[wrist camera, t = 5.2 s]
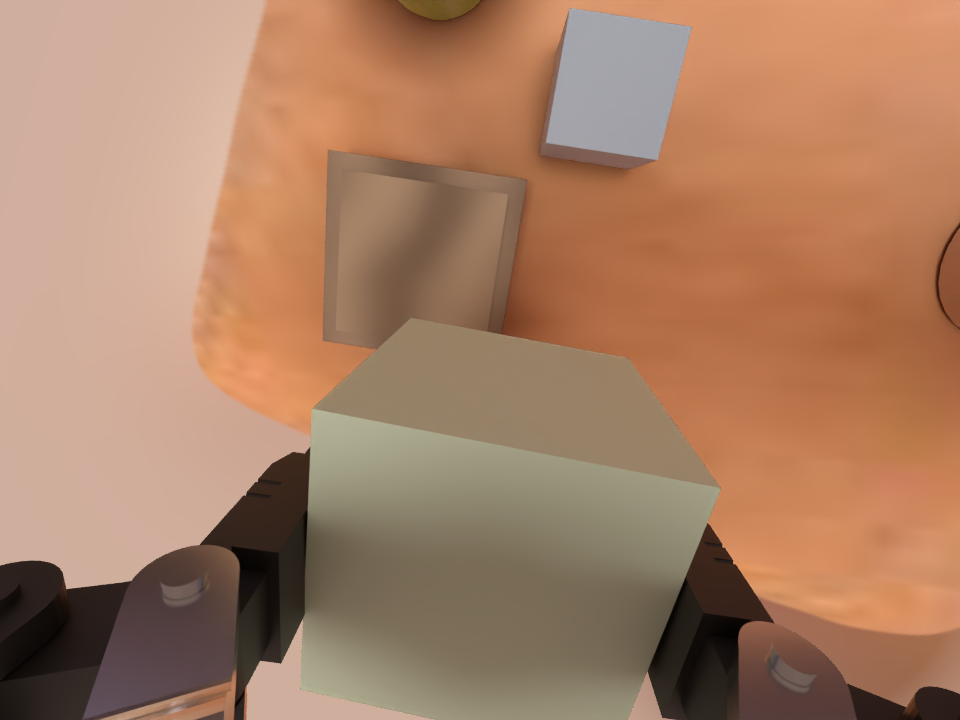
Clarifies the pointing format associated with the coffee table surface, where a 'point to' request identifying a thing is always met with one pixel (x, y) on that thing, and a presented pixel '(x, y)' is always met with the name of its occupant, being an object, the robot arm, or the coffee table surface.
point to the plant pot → (439, 8)
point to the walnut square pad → (415, 247)
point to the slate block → (612, 89)
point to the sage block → (494, 529)
